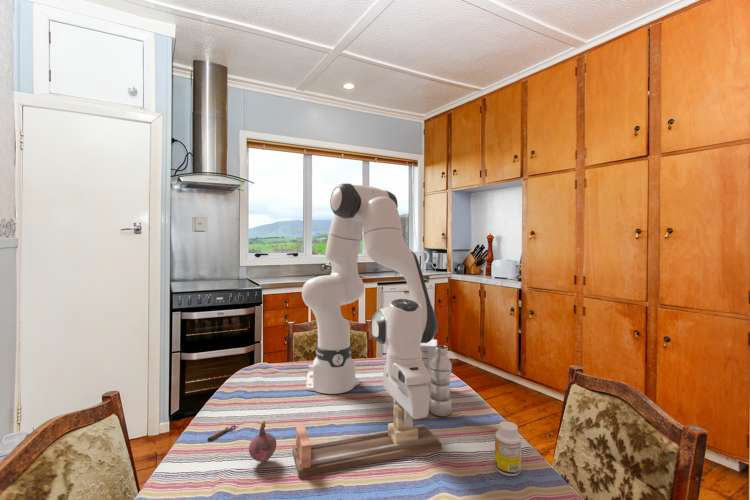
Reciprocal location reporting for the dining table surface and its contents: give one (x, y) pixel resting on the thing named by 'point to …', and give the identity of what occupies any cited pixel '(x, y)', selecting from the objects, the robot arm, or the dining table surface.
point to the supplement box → (428, 355)
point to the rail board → (356, 450)
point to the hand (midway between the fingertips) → (403, 420)
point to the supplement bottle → (508, 449)
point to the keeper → (401, 428)
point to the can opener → (221, 433)
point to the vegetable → (262, 445)
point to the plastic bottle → (440, 382)
